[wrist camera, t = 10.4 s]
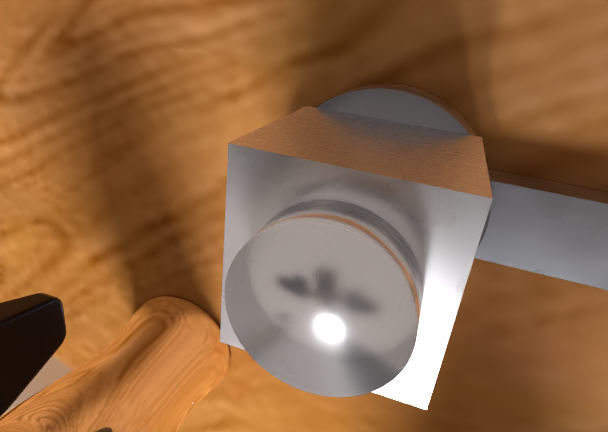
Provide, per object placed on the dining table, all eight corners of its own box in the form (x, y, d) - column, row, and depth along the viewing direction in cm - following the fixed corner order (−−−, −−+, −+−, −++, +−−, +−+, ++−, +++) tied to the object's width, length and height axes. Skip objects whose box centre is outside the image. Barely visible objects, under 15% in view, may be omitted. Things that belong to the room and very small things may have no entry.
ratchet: (281, 247, 21) (220, 320, 16) (300, 68, 17) (230, 84, 12) (753, 370, 16) (892, 533, 11) (898, 162, 13) (1197, 251, 8)
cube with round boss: (437, 291, 17) (421, 458, 10) (289, 252, 18) (192, 376, 12) (481, 137, 14) (497, 226, 8) (306, 105, 16) (194, 159, 9)
